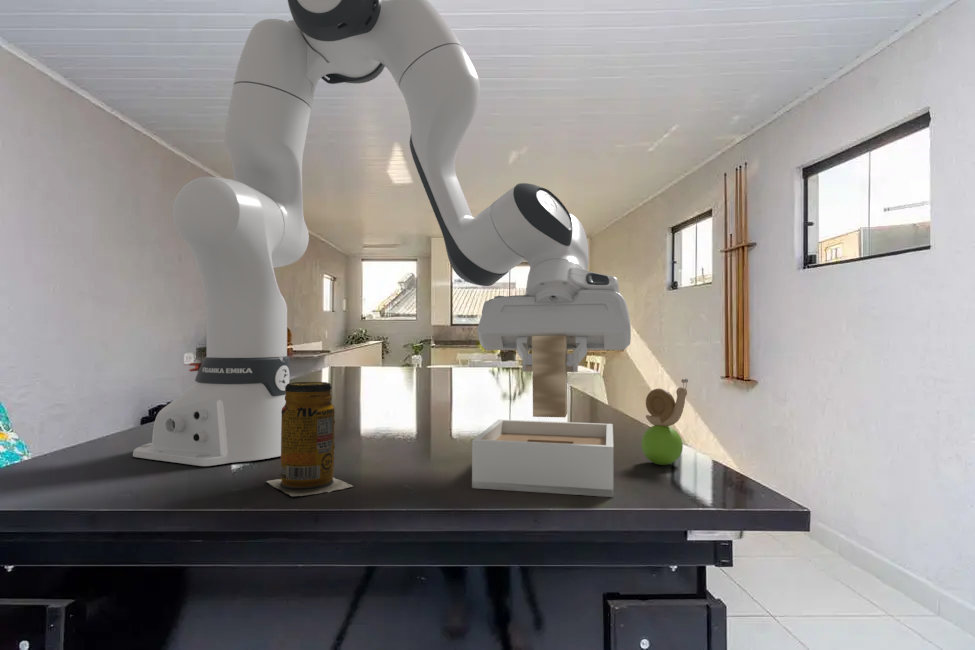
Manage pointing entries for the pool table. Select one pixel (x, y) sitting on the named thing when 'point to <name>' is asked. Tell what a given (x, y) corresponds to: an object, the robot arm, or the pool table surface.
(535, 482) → the open box
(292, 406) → the condiment
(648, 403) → the snail figurine
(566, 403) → the beech peg
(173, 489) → the pool table surface
